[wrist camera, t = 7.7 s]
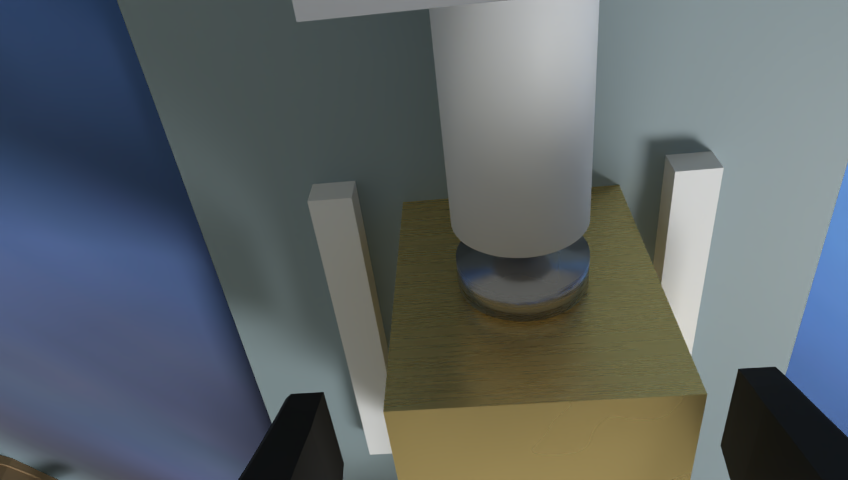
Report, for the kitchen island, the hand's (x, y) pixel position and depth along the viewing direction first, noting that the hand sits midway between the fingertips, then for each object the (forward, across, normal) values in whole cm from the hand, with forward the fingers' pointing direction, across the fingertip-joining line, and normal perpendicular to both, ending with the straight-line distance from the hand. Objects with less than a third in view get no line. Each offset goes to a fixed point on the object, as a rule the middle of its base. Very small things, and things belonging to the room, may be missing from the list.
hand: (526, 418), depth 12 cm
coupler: (+3, 0, 0) cm, 3 cm away
